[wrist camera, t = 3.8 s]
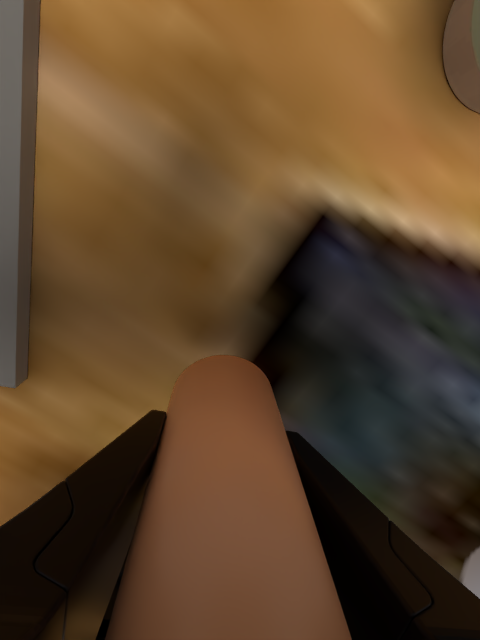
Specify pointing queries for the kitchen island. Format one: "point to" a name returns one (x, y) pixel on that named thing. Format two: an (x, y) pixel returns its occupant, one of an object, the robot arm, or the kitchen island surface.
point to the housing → (16, 180)
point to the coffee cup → (463, 52)
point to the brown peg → (225, 523)
